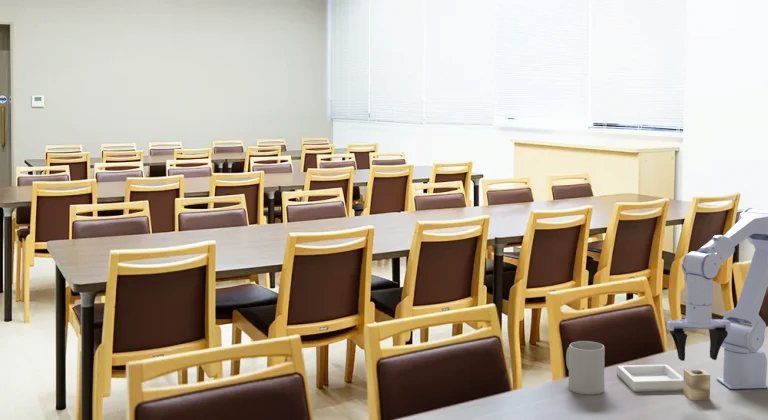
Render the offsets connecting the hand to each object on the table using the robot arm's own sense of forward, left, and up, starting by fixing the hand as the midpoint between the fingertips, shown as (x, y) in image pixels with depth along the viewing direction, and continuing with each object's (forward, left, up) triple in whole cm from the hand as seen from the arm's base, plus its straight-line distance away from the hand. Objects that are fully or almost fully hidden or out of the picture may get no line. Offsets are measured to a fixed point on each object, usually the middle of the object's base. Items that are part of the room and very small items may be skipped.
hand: (697, 359), depth 198 cm
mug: (+25, -9, -9) cm, 28 cm away
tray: (+7, -11, -9) cm, 16 cm away
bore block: (0, 0, -9) cm, 9 cm away
